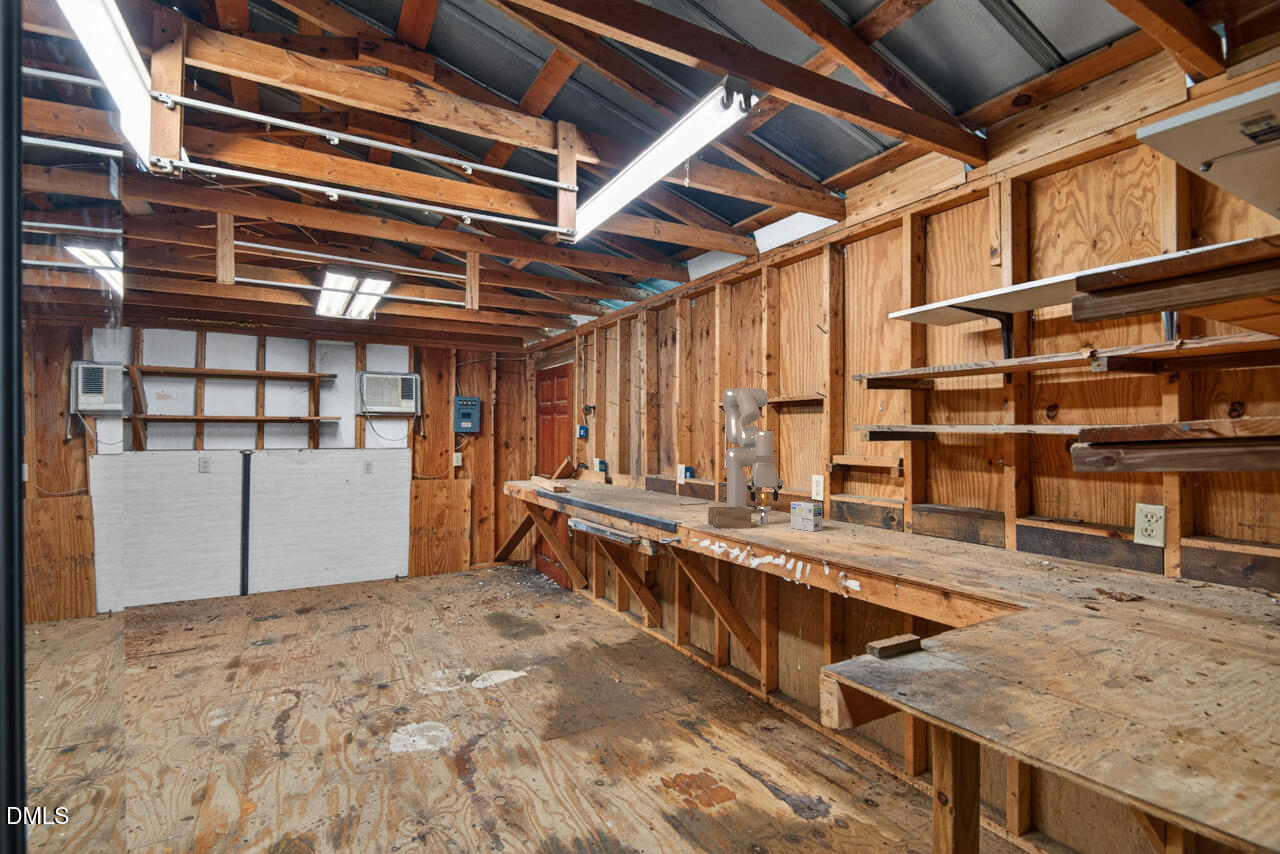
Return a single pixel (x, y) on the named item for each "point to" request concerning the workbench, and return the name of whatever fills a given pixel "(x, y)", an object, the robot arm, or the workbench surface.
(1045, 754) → the workbench surface
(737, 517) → the block
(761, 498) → the multicoloured piece
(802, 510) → the light bulb box
